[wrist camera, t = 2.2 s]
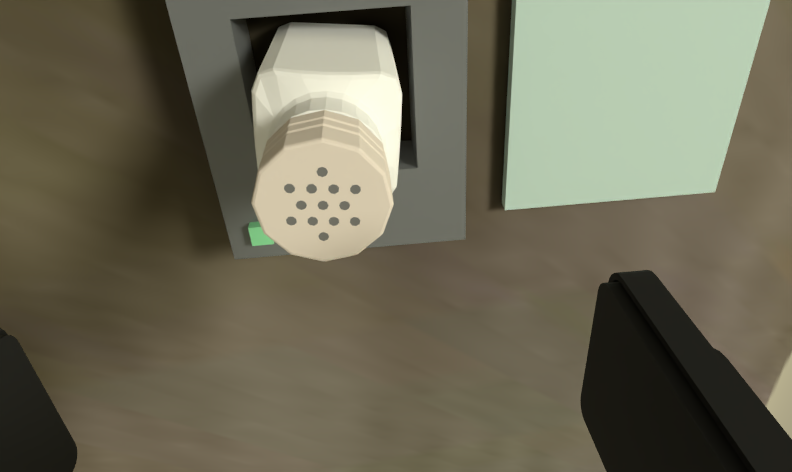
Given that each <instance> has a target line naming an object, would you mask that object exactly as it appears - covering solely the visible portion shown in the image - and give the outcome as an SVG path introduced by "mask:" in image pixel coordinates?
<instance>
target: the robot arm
mask: <svg viewBox="0 0 792 472" xmlns="http://www.w3.org/2000/svg"><path fill="white" fill-rule="evenodd" d="M581 410H582V414H583V418H584V421H585V423H586V425H587V428H588V430H589V432H590V435H591V437H592V439H593V441H594V444H595V446H596V448H597V451H598V453H599V455H600V458H601V460H602V462H603V465H604V467H605V469H606V471H607V472H792V439H791V438H790V437H789V436H788V435H787V433H786V432H785V431H784V430H783V428H782V427H781V426H780V424H779V423H778V422H777V421H776V419H775V418H774V417H773V415H772V414H771V413H770V412H769V411H768V409H767V408H766V407H765V405H764V404H763V403H762V402H761V400H760V399H759V398H758V397H757V395H756V394H755V393H754V392H753V390H752V389H751V388H750V387H749V385H748V384H747V383H746V382H745V380H744V379H743V378H742V377H741V375H740V374H739V373H738V372H737V370H736V369H735V368H734V367H733V365H732V364H731V363H730V361H729V360H728V359H727V358H726V357H725V356H724V355H723V354H722V353H721V352H720V351H718V350H716V349H714V348H713V347H712V346H711V345H710V344H709V342H708V341H707V340H706V338H705V337H704V336H703V335H702V333H701V332H700V331H699V330H698V328H697V327H696V326H695V324H694V323H693V322H692V321H691V319H690V318H689V317H688V315H687V314H686V313H685V312H684V310H683V309H682V308H681V307H680V305H679V304H678V303H677V301H676V300H675V299H674V298H673V296H672V295H671V294H670V293H669V291H668V290H667V289H666V287H665V286H664V285H663V284H662V282H661V281H660V280H659V278H658V277H657V276H656V275H655V274H654V273H653V272H652V271H649V270H643V271H632V272H620V273H614V274H612V275H611V277H610V278H609V282H608V283H602V284H601V285H600V286H599V289H598V295H597V301H596V307H595V313H594V319H593V325H592V331H591V337H590V344H589V350H588V356H587V362H586V368H585V374H584V380H583V387H582V393H581ZM76 460H77V447H76V444H75V442H74V440H73V438H72V437H71V435H70V433H69V431H68V429H67V428H66V426H65V424H64V422H63V421H62V419H61V417H60V415H59V413H58V412H57V410H56V408H55V406H54V404H53V403H52V401H51V399H50V397H49V396H48V394H47V392H46V390H45V388H44V387H43V385H42V383H41V381H40V379H39V378H38V376H37V374H36V372H35V370H34V369H33V367H32V365H31V363H30V362H29V360H28V358H27V356H26V354H25V353H24V351H23V349H22V347H21V345H20V344H19V342H18V341H17V339H16V338H15V337H13V336H11V335H8V334H7V333H6V332H5V331H4V330H2V329H1V328H0V472H72V471H73V469H74V467H75V464H76Z"/></svg>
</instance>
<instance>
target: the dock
mask: <svg viewBox="0 0 792 472" xmlns="http://www.w3.org/2000/svg"><path fill="white" fill-rule="evenodd" d="M165 1H166V5H167V9H168V13H169V16H170V20H171V24H172V28H173V31H174V35H175V39H176V42H177V46H178V50H179V54H180V57H181V61H182V65H183V68H184V72H185V76H186V80H187V83H188V87H189V91H190V95H191V98H192V102H193V106H194V109H195V113H196V117H197V121H198V124H199V128H200V132H201V136H202V139H203V143H204V147H205V150H206V154H207V158H208V162H209V165H210V169H211V173H212V176H213V180H214V184H215V188H216V191H217V195H218V199H219V203H220V206H221V210H222V214H223V217H224V221H225V225H226V229H227V232H228V236H229V240H230V244H231V247H232V251H233V255H234V258H235V259H244V258H256V257H267V256H279V255H290V253H288V252H287V251H286V250H285V249H283V248H282V247H281V246H279V245H278V244H277V243H275V242H274V241H273V240H272V239H270V238H269V237H268V236H266V235H265V234H264V233H263V230H262V228H261V226H260V223H259V221H258V218H257V216H256V213H255V211H254V209H253V206H252V204H251V201H252V196H253V191H254V187H255V182H256V177H257V172H258V167H257V159H256V150H255V140H254V127H253V111H252V92H251V89H252V87H253V84H254V81H255V78H256V75H257V71H256V66H255V61H254V56H253V51H252V46H251V41H250V36H249V31H248V26H247V21H246V18H255V17H268V16H281V15H294V14H307V13H320V12H333V11H346V10H358V9H371V8H384V7H397V6H405V17H406V38H407V59H408V80H409V101H410V122H411V140H407V141H400V152H399V166H398V178H397V187H396V188H395V190H394V191H393V193H392V195H393V203H394V205H393V208H392V211H391V213H390V216H389V219H388V221H387V224H386V227H385V230H384V232H383V234H382V235H381V236H380V237H378V238H377V239H376V240H375V241H374V242H372V243H371V244H370V245H369V246H367V247H366V248H370V247H382V246H393V245H404V244H416V243H427V242H439V241H450V240H461V239H465V227H466V129H467V32H468V0H165Z"/></svg>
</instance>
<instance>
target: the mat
mask: <svg viewBox="0 0 792 472" xmlns="http://www.w3.org/2000/svg"><path fill="white" fill-rule="evenodd" d="M769 3H770V0H512V9H511V29H510V48H509V68H508V88H507V107H506V127H505V147H504V166H503V186H502V205H503V207H504V209H505V210H513V209H525V208H536V207H548V206H559V205H571V204H583V203H594V202H606V201H617V200H629V199H640V198H652V197H664V196H675V195H687V194H698V193H710V192H715V190H716V187H717V183H718V180H719V177H720V173H721V170H722V166H723V163H724V159H725V156H726V152H727V149H728V145H729V142H730V138H731V135H732V132H733V128H734V125H735V121H736V118H737V114H738V111H739V107H740V104H741V100H742V97H743V93H744V90H745V87H746V83H747V80H748V76H749V73H750V69H751V66H752V62H753V59H754V55H755V52H756V48H757V45H758V42H759V38H760V35H761V31H762V28H763V24H764V21H765V17H766V14H767V10H768V7H769Z"/></svg>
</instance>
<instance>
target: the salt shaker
mask: <svg viewBox="0 0 792 472" xmlns="http://www.w3.org/2000/svg"><path fill="white" fill-rule="evenodd" d="M251 92H252V111H253V127H254V140H255V150H256V159H257V167H258V172H257V177H256V182H255V187H254V191H253V196H252V201H251V204H252V206H253V209H254V211H255V213H256V216H257V218H258V221H259V223H260V226H261V228H262V230H263V233H264V234H265V235H266V236H268V237H269V238H270V239H272V240H273V241H274V242H275V243H277V244H278V245H279V246H281V247H282V248H283V249H285V250H286V251H287V252H288V253H290V254H291V255H296V256H301V257H305V258H310V259H314V260H319V261H324V262H325V261H330V260H334V259H339V258H344V257H348V256H353V255H357V254H359V253H360V252H361V251H362V250H364V249H365V248H366V247H367V246H369V245H370V244H371V243H372V242H374V241H375V240H376V239H377V238H378V237H380V236H381V235H382V234H383V232H384V230H385V227H386V224H387V221H388V219H389V216H390V213H391V211H392V208H393V205H394V203H393V195H392V193H393V191H394V190H395V188H396V187H397V178H398V166H399V152H400V135H401V113H402V91H401V87H400V82H399V78H398V74H397V69H396V65H395V61H394V57H393V52H392V48H391V44H390V41H389V38H388V35H387V32H386V31H385V30H383V29H381V28H379V27H376V26H374V25H355V24H329V23H302V22H290V23H287V24H285V25H282V26H280V27H278V30H277V32H276V34H275V36H274V38H273V40H272V42H271V45H270V47H269V49H268V51H267V53H266V55H265V58H264V60H263V62H262V64H261V66H260V68H259V71H258V73H257V75H256V78H255V81H254V84H253V87H252V89H251Z"/></svg>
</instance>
